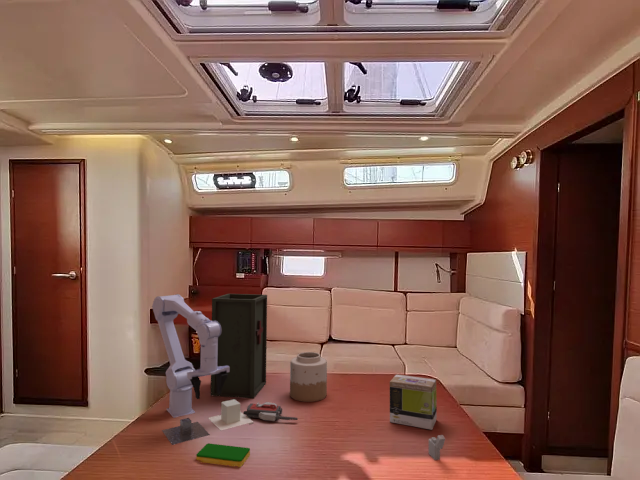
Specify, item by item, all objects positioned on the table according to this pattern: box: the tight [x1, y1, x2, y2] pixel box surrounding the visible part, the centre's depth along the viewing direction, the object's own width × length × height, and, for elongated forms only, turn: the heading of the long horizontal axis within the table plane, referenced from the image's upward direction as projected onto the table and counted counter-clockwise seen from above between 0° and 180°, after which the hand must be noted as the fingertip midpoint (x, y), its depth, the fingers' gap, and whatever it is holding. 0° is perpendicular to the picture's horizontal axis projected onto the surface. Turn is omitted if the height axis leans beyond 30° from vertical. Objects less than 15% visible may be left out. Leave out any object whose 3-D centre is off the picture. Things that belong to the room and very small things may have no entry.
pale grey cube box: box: [220, 398, 241, 424], centre depth 143 cm, size 5×5×6 cm
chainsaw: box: [242, 401, 299, 422], centre depth 147 cm, size 9×4×20 cm
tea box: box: [389, 374, 438, 431], centre depth 145 cm, size 15×10×15 cm, turn 65°
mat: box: [208, 410, 255, 432], centre depth 143 cm, size 12×12×1 cm
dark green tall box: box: [210, 293, 268, 399], centre depth 176 cm, size 18×18×40 cm
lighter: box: [428, 434, 446, 461], centre depth 120 cm, size 7×2×8 cm, turn 11°
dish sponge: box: [195, 442, 251, 468], centre depth 119 cm, size 7×14×2 cm, turn 78°
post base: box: [161, 417, 211, 446], centre depth 133 cm, size 12×12×4 cm
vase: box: [289, 351, 328, 403], centre depth 170 cm, size 15×15×17 cm
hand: (208, 395), depth 142 cm, fingers open, 7 cm apart
